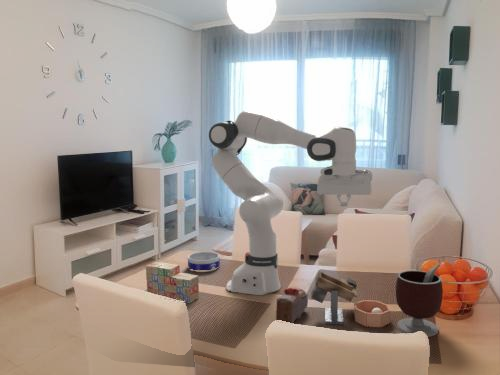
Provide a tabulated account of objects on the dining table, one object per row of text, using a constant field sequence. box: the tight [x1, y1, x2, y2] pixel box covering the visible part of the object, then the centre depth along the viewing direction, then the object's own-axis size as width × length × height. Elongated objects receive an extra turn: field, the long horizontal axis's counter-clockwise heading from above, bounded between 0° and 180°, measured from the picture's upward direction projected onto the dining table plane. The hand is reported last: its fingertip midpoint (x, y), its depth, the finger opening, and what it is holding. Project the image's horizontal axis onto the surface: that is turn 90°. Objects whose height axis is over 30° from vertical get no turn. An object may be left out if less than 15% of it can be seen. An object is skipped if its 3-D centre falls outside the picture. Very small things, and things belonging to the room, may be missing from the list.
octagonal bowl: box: [353, 299, 391, 328], centre depth 142 cm, size 11×11×4 cm
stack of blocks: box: [145, 261, 200, 303], centre depth 166 cm, size 21×6×12 cm, turn 61°
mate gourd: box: [395, 263, 444, 338], centre depth 135 cm, size 16×14×20 cm
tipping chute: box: [310, 270, 358, 304], centre depth 149 cm, size 15×18×8 cm
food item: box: [275, 286, 309, 324], centre depth 146 cm, size 14×8×10 cm, turn 154°
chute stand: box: [324, 289, 345, 326], centre depth 144 cm, size 6×11×11 cm, turn 170°
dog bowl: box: [187, 251, 221, 270], centre depth 202 cm, size 15×15×6 cm
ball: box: [372, 308, 382, 313], centre depth 142 cm, size 4×4×4 cm
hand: (343, 206), depth 161 cm, fingers closed
